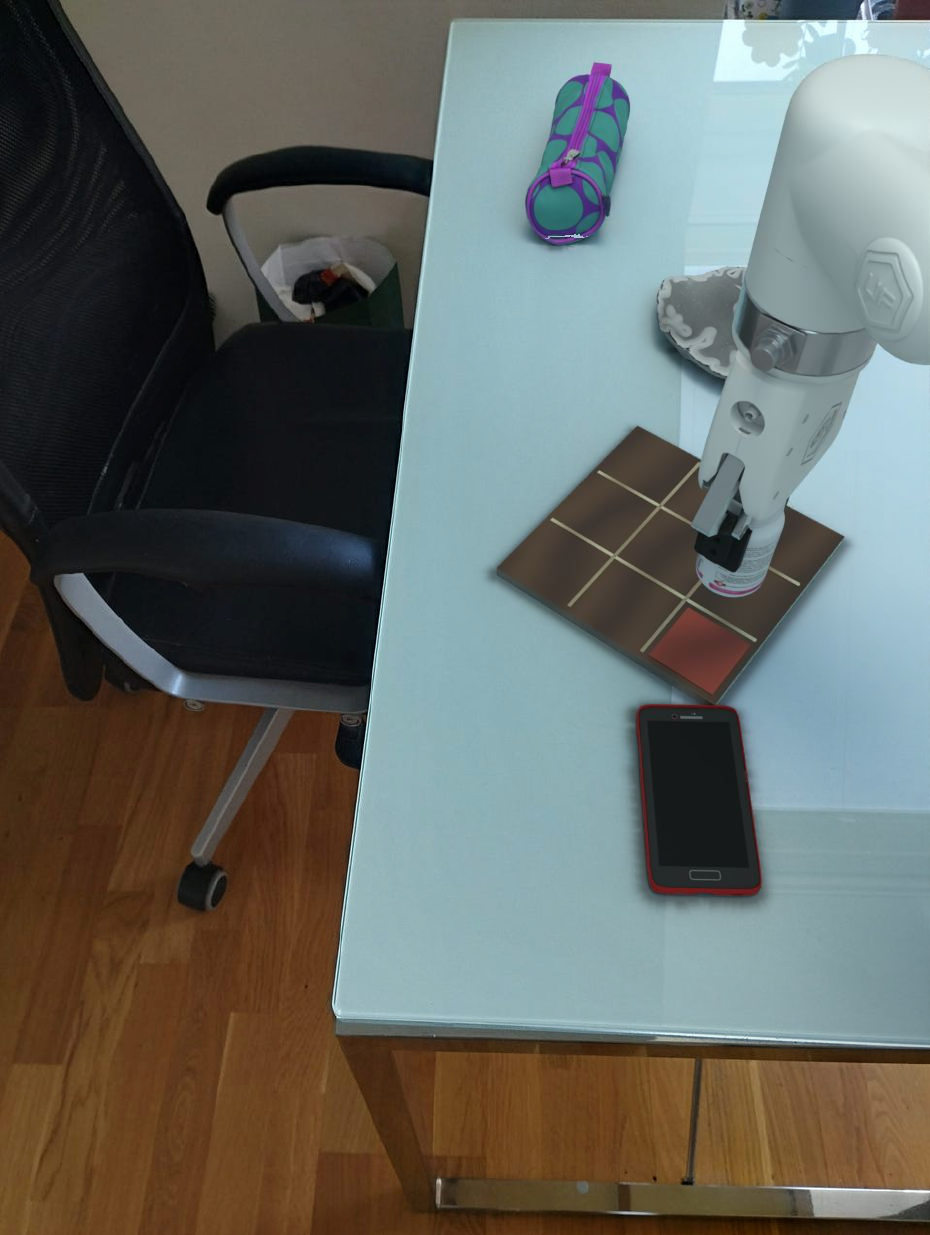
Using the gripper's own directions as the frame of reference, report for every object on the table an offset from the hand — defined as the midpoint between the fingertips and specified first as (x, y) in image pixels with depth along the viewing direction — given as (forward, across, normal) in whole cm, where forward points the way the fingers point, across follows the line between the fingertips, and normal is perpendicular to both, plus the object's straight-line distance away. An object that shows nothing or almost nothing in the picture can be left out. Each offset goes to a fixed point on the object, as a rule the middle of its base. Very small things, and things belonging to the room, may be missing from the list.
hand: (738, 531), depth 70 cm
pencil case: (+16, +45, +43) cm, 64 cm away
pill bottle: (+4, 0, 0) cm, 4 cm away
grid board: (+16, +7, +7) cm, 19 cm away
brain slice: (+16, +35, +15) cm, 41 cm away
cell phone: (+16, -10, -6) cm, 20 cm away
